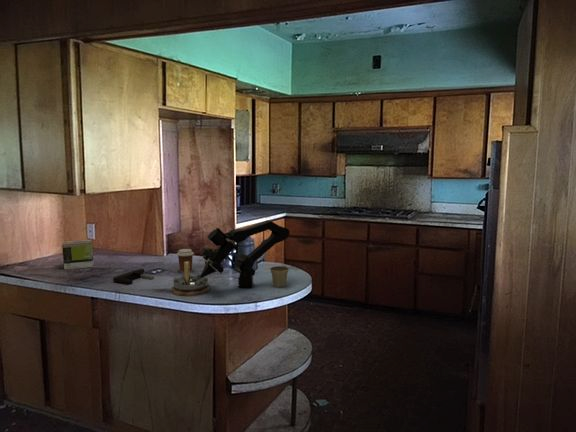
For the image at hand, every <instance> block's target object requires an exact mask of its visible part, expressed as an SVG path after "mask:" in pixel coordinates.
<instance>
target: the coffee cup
mask: <svg viewBox="0 0 576 432" xmlns="http://www.w3.org/2000/svg"><path fill="white" fill-rule="evenodd" d="M194 255H195V252H193V251H192V249H191V248H182V249H179V250H178V251H177V252H176V256H177V257H178V264H179V265H178V266H179V273H181V274H185V273H184V262H185V261H189V264H190V273H191V272H192V271H193V256H194Z"/></svg>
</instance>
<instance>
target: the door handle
mask: <svg viewBox="0 0 576 432" xmlns="http://www.w3.org/2000/svg"><path fill="white" fill-rule="evenodd" d="M138 279H144V280H149V281H153V280H154V279H155V276H152V275H149V274H148V275H147V274H145V269H144V268H139V269H138V268H137V269H135V270H132V271H128V272H126V273H123V274H119V275H118V274H117V275H116V276H113V277H112V281H113V282H114V283H120V284H124V285H127V286H128V285H132V284H133V281H135V280H138Z"/></svg>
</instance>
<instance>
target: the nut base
mask: <svg viewBox="0 0 576 432" xmlns="http://www.w3.org/2000/svg"><path fill="white" fill-rule="evenodd" d="M208 291H209V292H210V291H211V285H210V283H208V287H207V288H205V289H203V290H199V291H191V292H184V291H178V290H175V289H174V285H172V287H171V293H172V294H173V295H175V296H180V297H194V296H193V295H195V296H200V295H199V294H201V295H204V294H203V293H205V294H207V293H209V292H208ZM206 292H207V293H206Z"/></svg>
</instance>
